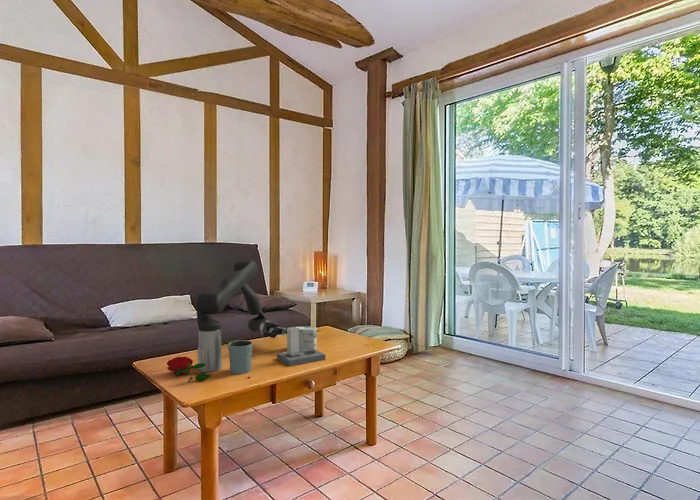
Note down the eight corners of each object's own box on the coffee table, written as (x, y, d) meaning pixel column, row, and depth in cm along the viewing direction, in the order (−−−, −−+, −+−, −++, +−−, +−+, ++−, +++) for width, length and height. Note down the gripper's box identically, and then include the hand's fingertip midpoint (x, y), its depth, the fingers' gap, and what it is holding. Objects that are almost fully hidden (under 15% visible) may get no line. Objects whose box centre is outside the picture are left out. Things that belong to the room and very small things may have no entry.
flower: (217, 355, 165) (172, 350, 182) (199, 373, 158) (154, 365, 175) (227, 373, 168) (183, 366, 185) (210, 391, 161) (165, 382, 179)
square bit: (291, 362, 193) (290, 329, 193) (287, 360, 197) (286, 327, 196) (299, 360, 195) (298, 328, 195) (295, 358, 199) (294, 326, 198)
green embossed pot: (243, 365, 188) (243, 338, 188) (257, 370, 182) (257, 342, 182) (223, 371, 181) (223, 343, 180) (238, 376, 174) (237, 347, 174)
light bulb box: (316, 347, 219) (316, 326, 219) (314, 350, 212) (314, 329, 212) (296, 346, 220) (296, 326, 220) (293, 350, 213) (293, 329, 213)
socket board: (289, 366, 187) (289, 360, 187) (276, 358, 199) (276, 352, 199) (325, 359, 197) (325, 353, 197) (311, 352, 209) (311, 347, 209)
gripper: (256, 323, 214) (268, 329, 201) (282, 319, 222) (296, 325, 209) (256, 337, 215) (268, 344, 201) (282, 334, 222) (296, 340, 209)
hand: (282, 334), depth 205 cm, fingers open, 8 cm apart
